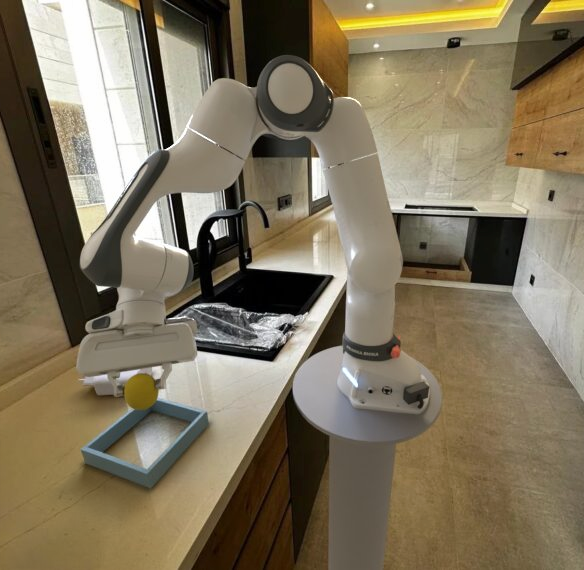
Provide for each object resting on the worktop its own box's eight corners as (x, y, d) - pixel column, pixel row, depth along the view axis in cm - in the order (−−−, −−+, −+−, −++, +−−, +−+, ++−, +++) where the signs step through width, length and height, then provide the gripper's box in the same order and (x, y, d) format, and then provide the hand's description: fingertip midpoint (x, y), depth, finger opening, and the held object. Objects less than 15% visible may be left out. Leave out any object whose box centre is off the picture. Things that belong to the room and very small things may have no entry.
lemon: (149, 395, 66) (141, 362, 63) (168, 404, 64) (160, 370, 61) (122, 413, 61) (112, 378, 59) (142, 423, 59) (132, 387, 56)
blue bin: (209, 423, 70) (206, 411, 69) (150, 488, 56) (146, 474, 55) (151, 407, 75) (149, 394, 73) (85, 463, 61) (80, 449, 60)
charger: (94, 374, 86) (153, 372, 87) (71, 398, 77) (136, 395, 78) (89, 359, 84) (149, 357, 85) (65, 382, 75) (132, 379, 76)
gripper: (198, 320, 71) (202, 384, 66) (91, 333, 66) (85, 404, 61) (193, 310, 66) (197, 379, 60) (75, 324, 60) (68, 401, 55)
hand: (140, 392), depth 61 cm, fingers closed on lemon, 5 cm apart
